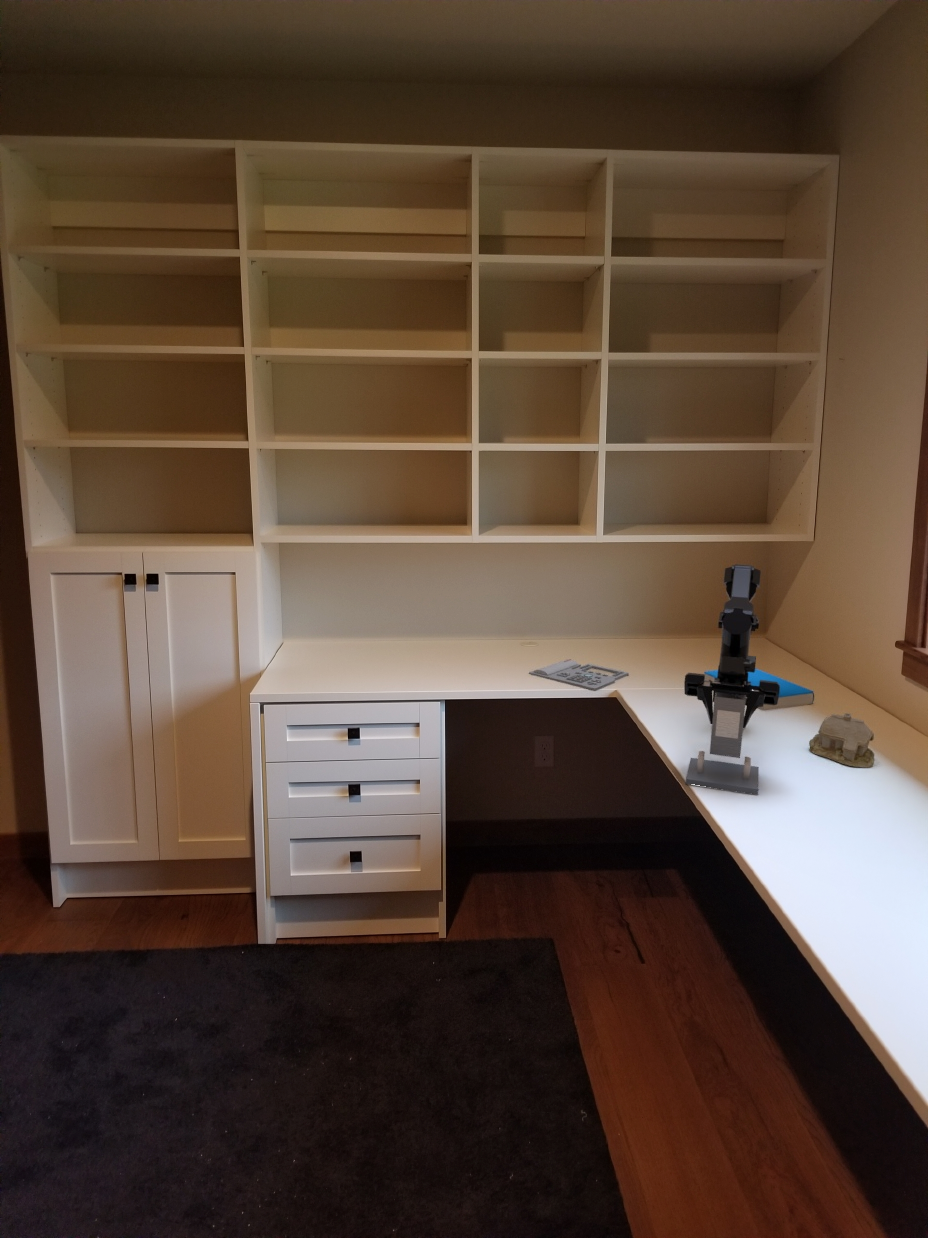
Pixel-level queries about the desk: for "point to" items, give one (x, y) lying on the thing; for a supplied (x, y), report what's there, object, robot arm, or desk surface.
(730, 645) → the robot arm
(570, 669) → the office telephone
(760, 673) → the book
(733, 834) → the desk surface
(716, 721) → the block
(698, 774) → the grey pegged stand
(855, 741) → the ceramic model
